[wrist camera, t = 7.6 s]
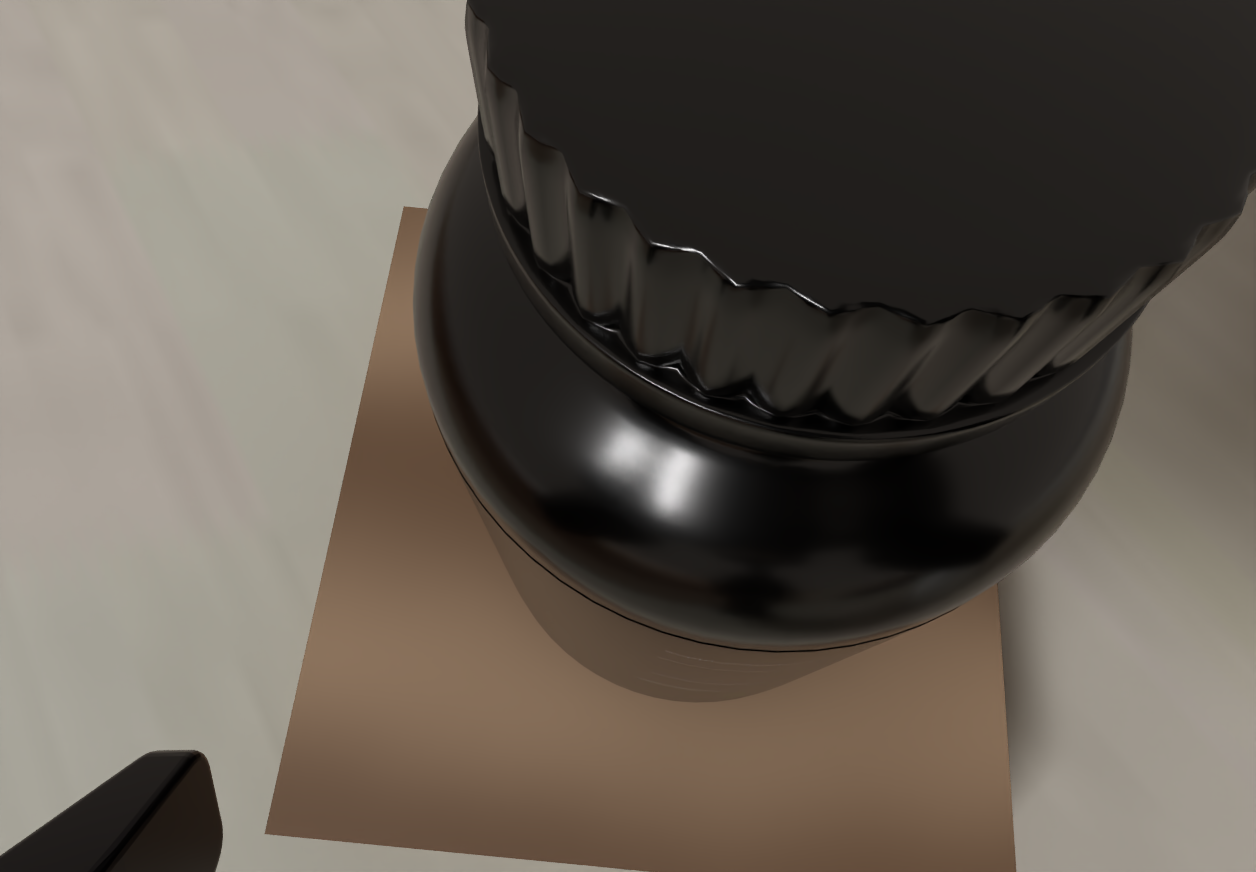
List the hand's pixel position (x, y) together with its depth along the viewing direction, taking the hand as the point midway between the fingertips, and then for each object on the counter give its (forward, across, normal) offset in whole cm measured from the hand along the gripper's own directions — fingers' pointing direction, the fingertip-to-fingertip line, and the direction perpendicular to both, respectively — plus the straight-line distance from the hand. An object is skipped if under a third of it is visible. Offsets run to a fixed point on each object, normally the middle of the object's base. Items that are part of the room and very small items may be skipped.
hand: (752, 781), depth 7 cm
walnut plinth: (+11, 0, +4) cm, 12 cm away
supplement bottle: (+9, 0, +2) cm, 9 cm away
